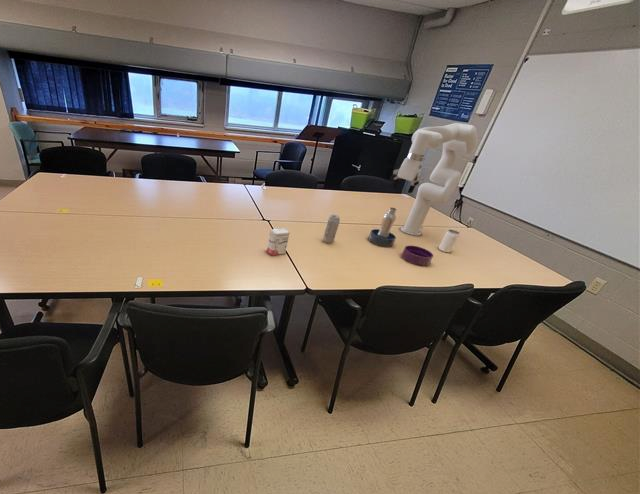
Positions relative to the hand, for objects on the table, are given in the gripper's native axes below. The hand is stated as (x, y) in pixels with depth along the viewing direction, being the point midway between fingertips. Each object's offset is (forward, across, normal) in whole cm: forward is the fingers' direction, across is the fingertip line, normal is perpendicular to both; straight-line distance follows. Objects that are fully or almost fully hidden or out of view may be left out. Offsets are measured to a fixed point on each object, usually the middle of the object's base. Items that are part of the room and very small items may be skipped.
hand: (401, 190), depth 173 cm
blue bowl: (+31, -1, +2) cm, 31 cm away
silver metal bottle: (+30, -1, +2) cm, 30 cm away
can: (+30, -23, -30) cm, 48 cm away
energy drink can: (+31, +10, +35) cm, 48 cm away
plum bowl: (+31, -24, +2) cm, 39 cm away
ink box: (+32, +9, +73) cm, 81 cm away
